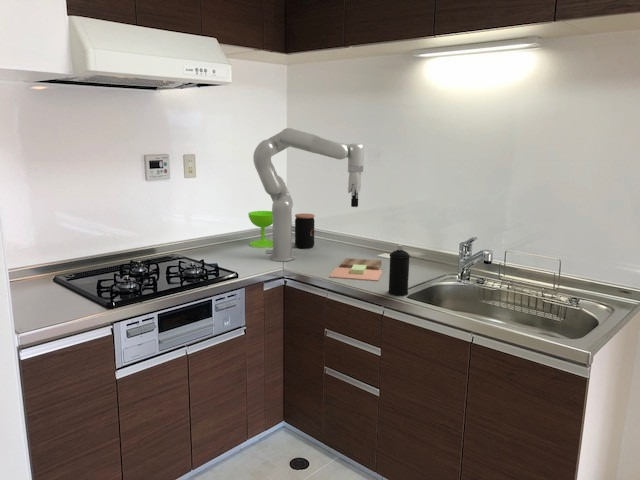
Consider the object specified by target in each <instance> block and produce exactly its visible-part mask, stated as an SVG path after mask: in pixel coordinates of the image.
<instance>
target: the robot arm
mask: <svg viewBox="0 0 640 480" xmlns="http://www.w3.org/2000/svg"><path fill="white" fill-rule="evenodd" d="M288 148H294V149H297V150H302V151H306V152H309V153H312V154H318V155H321V156H324V157H329V158H332V159H336V160H345V158H346V159H347V173H348V174H349V175H348V183H347V184H348V187H347V193H348V194H350V193H351V198H350V201H351V203H350V204H351V205H350V206H351V208H358V207H359V192H361V187H362V174H363V173H364V156H365V153H364V152H365V149H364V148H365V147H364V144H362V143H344V142H338V141H333V140H329V139H326V138H322V137H320V136H319V135H316V134H313V133H309V132H306V131H305V132H304V131H301V130H299V129H298V130H297V129H294V128H292V127H285V128H284V129H282V130H281V131H280V132H278V133H276V134H275V135H273V136H270V137H269V138H267V139H264V140H262V141H261V142H259V143H258V144H257V146H256V148H255V149H254V152H253V164H254V167H255V169H256V172H257V174H258V177H259V179H260V182H261V184H262V187H263V188H264V191H265V192H266V194H268V195H269V196H270V198H271V200H272V205H271V211H272V217H273V224H272V241H273V247H272V249H268V248H267V249H265V254H266V255H270V256H269V259H270V260H271V261H275V262H289V261H294V260H295V258H296V256H295V255H294V254H293V242H292V241H293V227H292V226H293V225H292V224H293V222H292V221H293V219H292V216H293V215H292V212H293V210H292V209H293V206H294V202H293V198H292V196H291V194H290V192H289V190H288V186H287V185H286V183H285V181H284V179H283V178H282V177H281V176H280V175H278V173H277V171H276V168H275V166H274V164H273V162H272V157H273V156H275V155H277V154H279V153H280V152H282V151H284V150H286V149H288Z"/></svg>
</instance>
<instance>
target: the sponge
mask: <svg viewBox="0 0 640 480" xmlns="http://www.w3.org/2000/svg"><path fill="white" fill-rule="evenodd" d="M366 266H367V265H357V264H354V265H353V266H352V268H351V274H363V275H364V273H365V271H366Z"/></svg>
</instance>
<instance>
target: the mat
mask: <svg viewBox="0 0 640 480" xmlns="http://www.w3.org/2000/svg"><path fill="white" fill-rule="evenodd" d="M382 273H383V270H381V269H379V270H370V269H366V271H365V273H364V275H363V274H351V268H343V267H339V266H336V267H335V268H334V269H333V271H332V272H331V273H330V275H328V278H331V279H333V278H334V279H335V278H336V279H344V280H345V279H346V280H356V279H357V280H358V281H360V280H361V281H369V280H370V281H371V282H379V279H380V278H381V276H382Z"/></svg>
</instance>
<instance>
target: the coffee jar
mask: <svg viewBox="0 0 640 480" xmlns="http://www.w3.org/2000/svg"><path fill="white" fill-rule="evenodd" d="M294 217H295V219H294V245H295V247H296V248H297V249H301V250H309V249H313V248H314V246H315V219H314V218H315V214H313V213H297V214H295V215H294Z"/></svg>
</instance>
